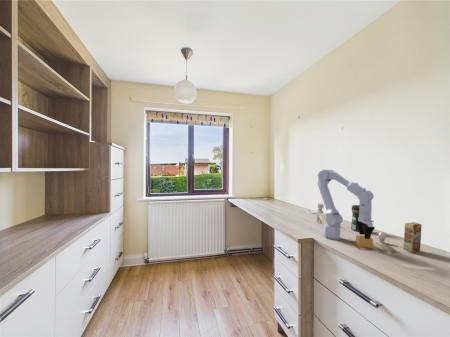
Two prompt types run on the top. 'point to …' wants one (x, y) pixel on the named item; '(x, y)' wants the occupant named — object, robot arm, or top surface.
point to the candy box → (412, 237)
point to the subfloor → (378, 248)
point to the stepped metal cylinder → (382, 237)
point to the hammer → (320, 214)
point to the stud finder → (364, 242)
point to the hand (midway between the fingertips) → (364, 236)
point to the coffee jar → (355, 217)
